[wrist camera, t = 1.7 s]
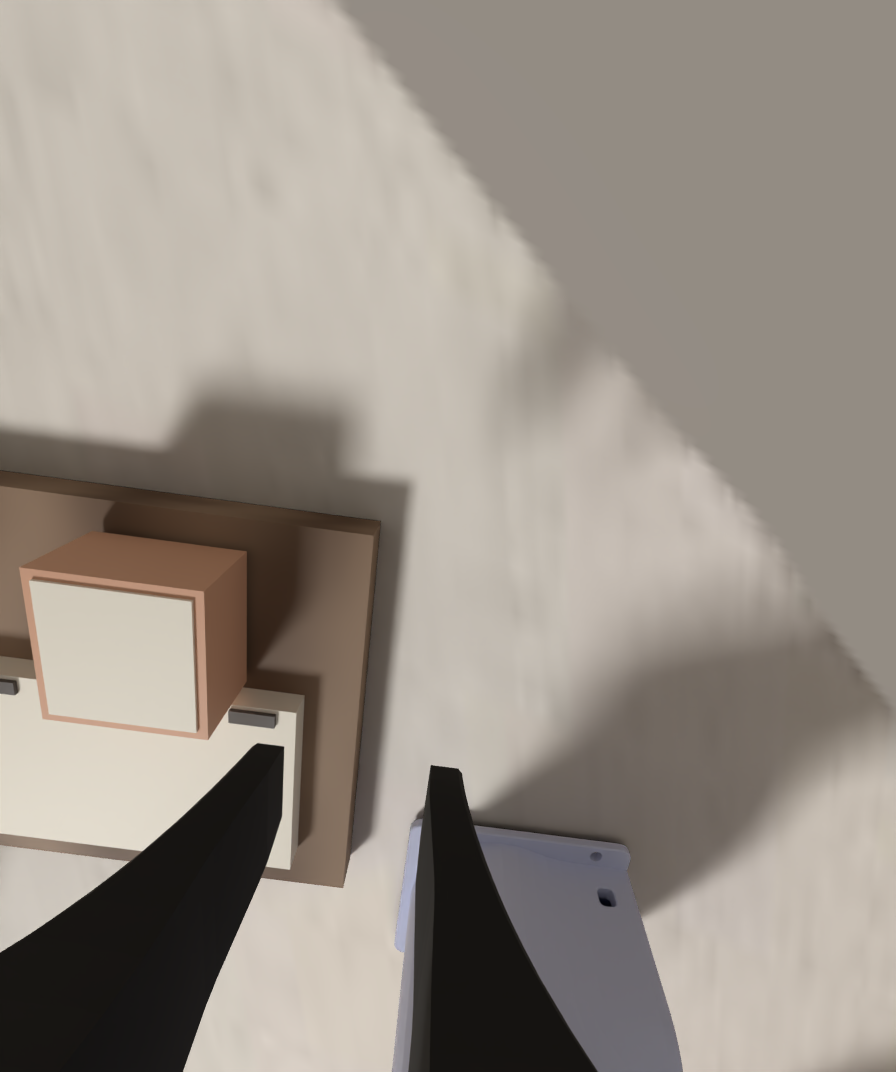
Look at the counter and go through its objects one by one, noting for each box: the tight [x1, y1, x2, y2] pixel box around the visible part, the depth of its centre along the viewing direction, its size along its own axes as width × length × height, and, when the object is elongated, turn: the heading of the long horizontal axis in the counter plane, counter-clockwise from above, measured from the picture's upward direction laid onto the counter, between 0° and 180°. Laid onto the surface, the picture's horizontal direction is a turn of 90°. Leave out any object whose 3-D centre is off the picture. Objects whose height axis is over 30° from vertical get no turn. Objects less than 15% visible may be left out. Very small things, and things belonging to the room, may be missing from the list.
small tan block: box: [19, 531, 247, 740], centre depth 17 cm, size 5×5×3 cm
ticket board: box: [0, 471, 381, 888], centre depth 20 cm, size 19×16×3 cm
